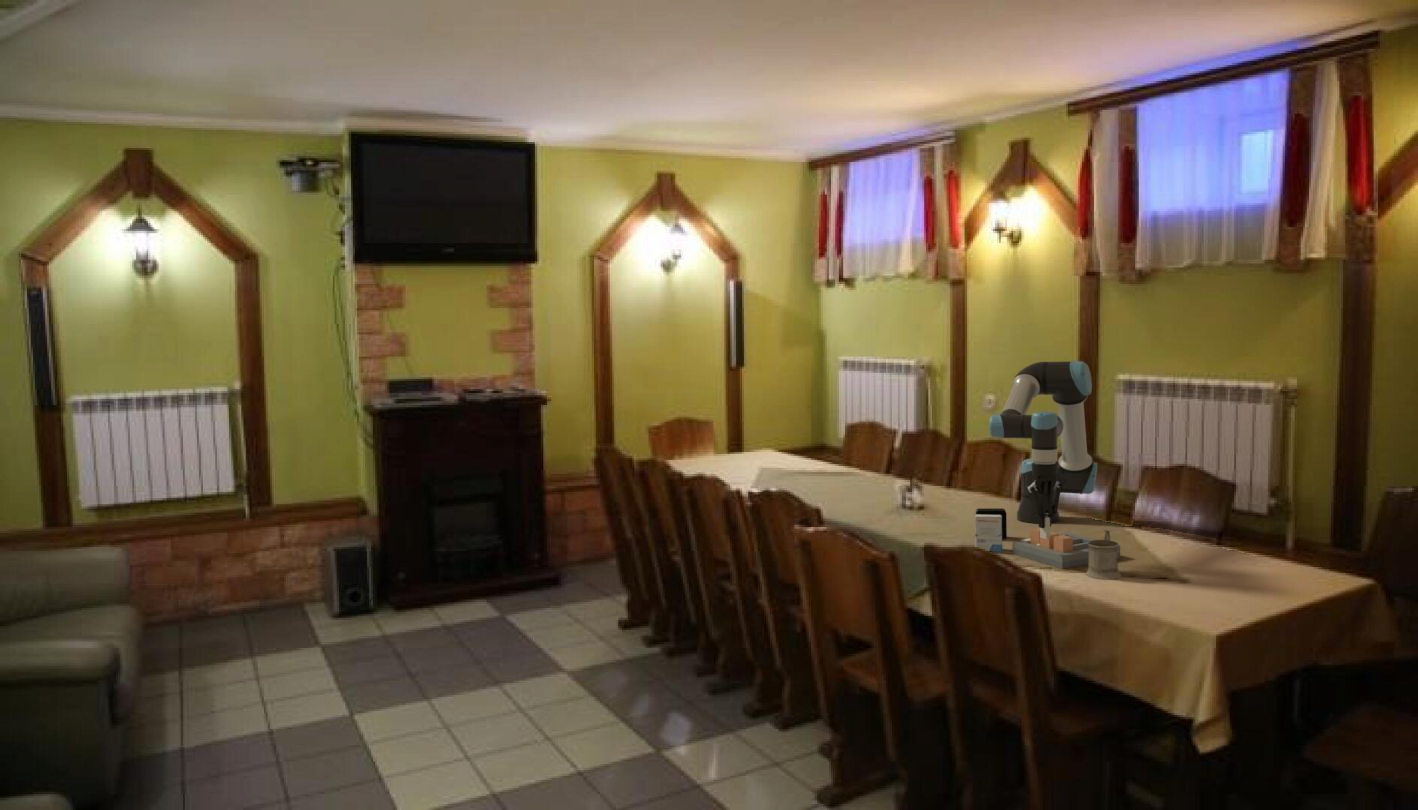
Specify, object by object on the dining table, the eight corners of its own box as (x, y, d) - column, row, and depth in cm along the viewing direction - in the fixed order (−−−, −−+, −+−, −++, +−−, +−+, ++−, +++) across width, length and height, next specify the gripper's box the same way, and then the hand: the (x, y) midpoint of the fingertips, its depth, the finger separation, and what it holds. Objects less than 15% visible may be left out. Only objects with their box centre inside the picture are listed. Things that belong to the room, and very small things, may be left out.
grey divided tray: (1068, 543, 333) (1068, 531, 332) (1120, 557, 313) (1120, 544, 312) (1012, 553, 323) (1012, 540, 322) (1062, 568, 303) (1062, 555, 302)
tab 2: (1049, 549, 317) (1049, 531, 317) (1058, 552, 314) (1058, 533, 313) (1040, 551, 316) (1039, 533, 315) (1049, 554, 312) (1049, 535, 311)
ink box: (1002, 548, 330) (1002, 513, 329) (1001, 552, 325) (1001, 517, 324) (976, 547, 333) (975, 513, 331) (975, 551, 328) (974, 516, 327)
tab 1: (1039, 545, 323) (1039, 527, 323) (1048, 547, 320) (1048, 529, 319) (1030, 547, 322) (1030, 528, 321) (1039, 549, 318) (1039, 531, 318)
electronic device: (1006, 539, 342) (1006, 510, 341) (976, 539, 344) (976, 510, 343) (1005, 536, 347) (1005, 508, 346) (976, 536, 349) (975, 508, 348)
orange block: (1063, 553, 312) (1063, 535, 311) (1073, 556, 308) (1072, 537, 308) (1053, 555, 310) (1053, 536, 310) (1063, 558, 307) (1063, 539, 306)
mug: (1117, 581, 288) (1117, 540, 287) (1082, 577, 293) (1082, 537, 292) (1126, 568, 300) (1126, 530, 299) (1092, 565, 305) (1092, 527, 304)
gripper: (1051, 458, 309) (1052, 533, 311) (1019, 462, 304) (1020, 538, 306) (1069, 461, 303) (1070, 537, 305) (1036, 465, 297) (1037, 542, 299)
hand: (1045, 537), depth 305 cm, fingers closed
